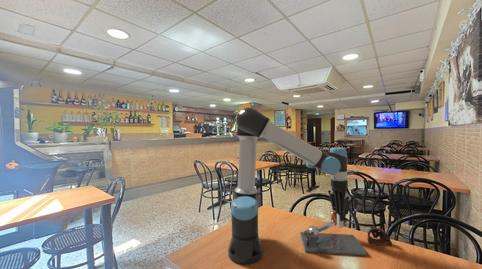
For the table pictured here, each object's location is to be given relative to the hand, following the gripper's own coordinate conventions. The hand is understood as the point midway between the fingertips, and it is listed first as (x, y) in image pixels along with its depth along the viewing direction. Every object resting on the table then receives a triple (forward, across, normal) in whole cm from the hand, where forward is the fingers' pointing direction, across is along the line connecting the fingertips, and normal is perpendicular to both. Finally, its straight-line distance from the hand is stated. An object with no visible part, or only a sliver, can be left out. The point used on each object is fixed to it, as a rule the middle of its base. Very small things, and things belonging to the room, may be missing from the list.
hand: (340, 226), depth 102 cm
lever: (+3, +2, +10) cm, 10 cm away
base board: (+6, -3, +9) cm, 11 cm away
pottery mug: (+6, -10, -13) cm, 17 cm away
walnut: (+4, 0, +20) cm, 20 cm away
